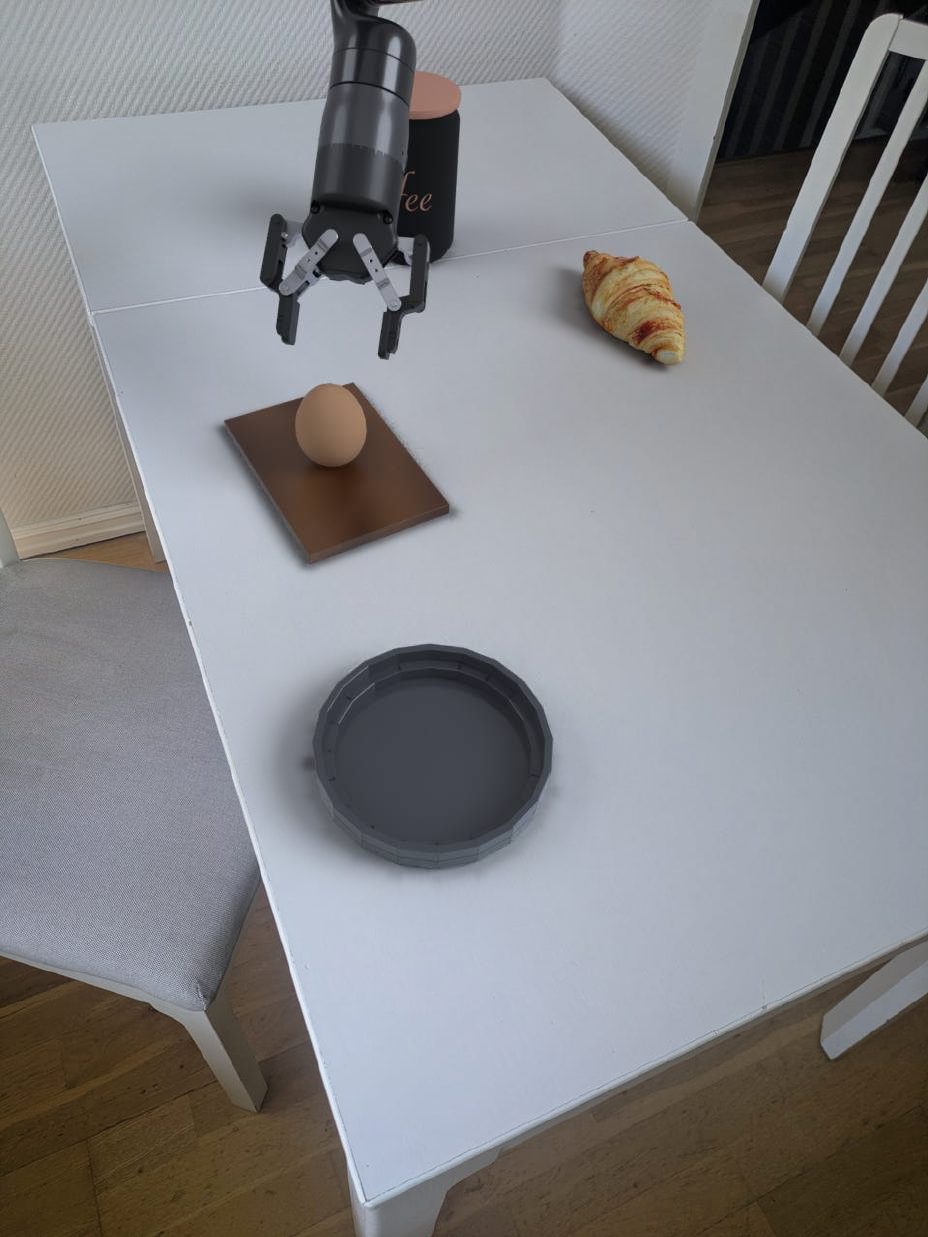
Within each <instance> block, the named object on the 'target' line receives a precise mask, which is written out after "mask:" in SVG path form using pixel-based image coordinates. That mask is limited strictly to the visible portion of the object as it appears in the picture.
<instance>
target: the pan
mask: <svg viewBox="0 0 928 1237" xmlns="http://www.w3.org/2000/svg"><path fill="white" fill-rule="evenodd" d="M311 742H312V751H313V759H314V760H313V761H314V767H315V768H314V769H315V775H316V782H317V783H316V784H317V790H318V794H319V796H320V798H321V800H322V801H323V803H324V805H325V807H326V809H327V811H328V813H329V815H330V816H331V819H332V820H333V822H334V823H335V824H336V825H337V827H339V829H341V830H342V831H343V832H344V833H345V834H346V835H347V836H349V838H351V839H352V841H354V842H355V843H356V844H357V845H358V846H360V848H362V849H363V850H366V851H367V852H370V853H371V854H375V855H376V856H379V857H381V858H383V859H385V860H387V861H391V862H392V863H394V864H398V865H401V866H409V867H418V868H426V869H427V868H428V869H435V870H436V869H437V870H440V869H441V870H442V869H445V868H450V867H452V868H453V867H457V866H462V865H468V864H474V863H476V862H479V861H481V860H483V859H485V858H486V857H488V856H490V855H492V854H494V853H496V852H498V851H500V850H501V849H503V848H505V847H507V846H508V845H511V843H512V842H513V841H514V840H515V839H516V838H517V837H518V836H519V835H520V833H522V832H523V830H524V829H525V828H527V826H528V825H529V824H530V823H531V822H532V821H533V820H534V819H535V816H536V814H537V812H538V809H539V807H540V806H541V803H542V800H543V798H544V795H545V793H546V790H547V788H548V785H549V784H548V783H549V780H550V777H551V775H552V771H553V770H552V769H553V747H554V737H553V734H552V730H551V727H550V724H549V721H548V718H547V715H546V712H545V708H544V707H543V705H542V703H541V702H540V701H539V699H538V698H537V696H536V695H535V694H534V692H533V691H532V690H531V688H530V687H529V686H528V684H527V682H525V680H524V679H522V678H521V677H520V676H519V675H517V674H516V673H514V672H513V671H512V670H510V669H509V668H508V667H506V666H505V665H504V664H502V663H501V661H498V660H497V659H495V658H492V657H490V656H487V655H484V654H482V653H479V652H477V651H474V650H472V649H469V648H467V647H462V646H454V645H446V644H439V643H437V644H436V643H423V644H416V645H408V646H400V647H395V648H392V649H389V650H387V651H385V652H383V653H380V654H378V655H375V656H373V657H371V658H368V659H366V660H364V661H363V662H361V663H360V664H359V665H358V666H357V667H355V668H354V669H352V670H351V671H350V672H349V673H347V674H346V675H345V676H344V677H343V678H341V679H340V680H339V681H338V682H337V683H336V684H335V686H334V688H333V689H332V690H331V692H330V694H329V696H328V697H327V698H326V700H325V702H324V703H323V704H322V706H321V708H320V709H319V711H318V716H317V720H316V725H315V729H314V732H313V737H312V741H311Z"/></svg>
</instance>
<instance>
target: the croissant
mask: <svg viewBox="0 0 928 1237" xmlns="http://www.w3.org/2000/svg"><path fill="white" fill-rule="evenodd" d="M582 262H583V263H582V267H583V271H582V277H581V285H582V288H583V293H584V301H585V304H586V307H587V308H588V310H589V311H590V315H591V316H592V318H593V320H594V321H595V322H596V323H597V324H598V325H599V326H601V328H602V329H603V330H605V331H606V332H608V333H609V334H610V335H612V336H614V338H617V339H619V340H621V341H623V342H627V343H628V345H629V346H631V347H632V348H633V349H636V350H640V351H643V352H644V353H645V354H650V355H651V356H652V357H653V359H654V360H655V361H658V362H660V363H662V364H664V365H668V366H674V365H678V364H680V363H681V362H682V360H683V359H684V355H685V353H686V352H685V350H686V348H687V345H686V333H685V317H684V314H683V312H682V307H681V305H680V304H679V303H678V302H676V300H674V292H673V289H672V285H671V283H670V279H669V275H668V274H666V273H665V272H664V271H663V270H662V269H661V268H660V267H658V266H657V265H656V264H655V263H654V262H652V261H649V260H647V259H645V258H642V257H640V255H636V256H634V257H631V258H628V257H626V256H613V255H611V254H609V253H607V252H606V253H605V252H602V253H599V251H597V250H594V249H592V250H586V252H584V254H583V257H582Z"/></svg>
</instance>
